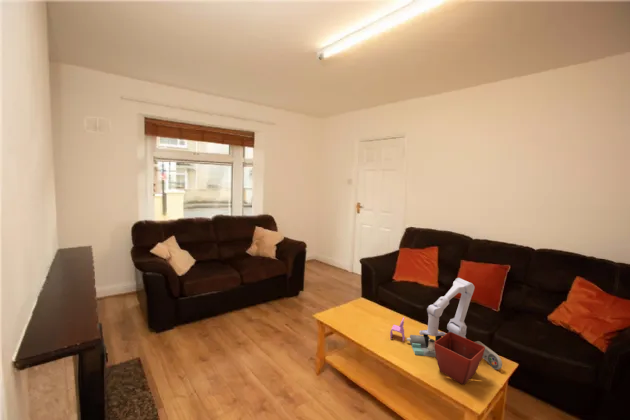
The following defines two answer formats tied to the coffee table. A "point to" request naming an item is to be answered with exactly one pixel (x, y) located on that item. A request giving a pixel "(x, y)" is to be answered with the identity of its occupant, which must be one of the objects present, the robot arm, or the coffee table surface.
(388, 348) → the coffee table surface
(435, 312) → the robot arm
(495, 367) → the game controller
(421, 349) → the motor assembly
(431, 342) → the cream canister
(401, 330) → the toy chair
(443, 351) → the plant pot
